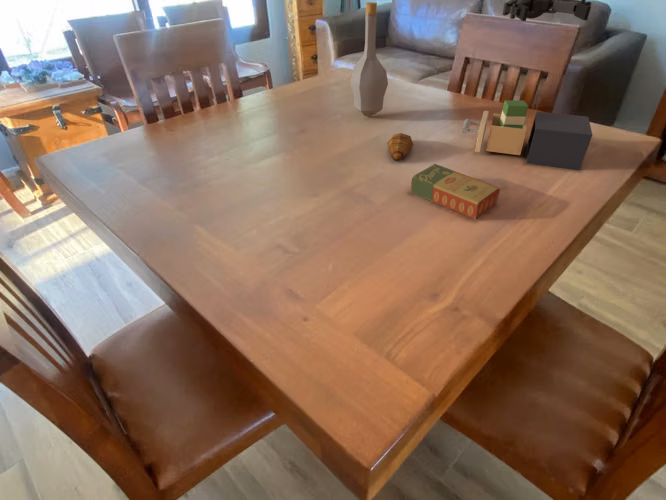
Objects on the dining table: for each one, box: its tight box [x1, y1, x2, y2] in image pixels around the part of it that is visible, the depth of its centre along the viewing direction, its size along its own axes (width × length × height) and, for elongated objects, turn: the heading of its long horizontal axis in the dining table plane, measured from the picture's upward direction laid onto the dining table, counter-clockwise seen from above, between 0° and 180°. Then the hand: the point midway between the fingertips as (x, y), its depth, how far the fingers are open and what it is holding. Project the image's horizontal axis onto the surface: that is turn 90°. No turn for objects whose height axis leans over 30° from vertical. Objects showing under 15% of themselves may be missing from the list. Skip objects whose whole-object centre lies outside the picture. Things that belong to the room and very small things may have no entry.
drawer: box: [460, 110, 529, 156], centre depth 107 cm, size 15×10×7 cm
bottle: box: [349, 1, 389, 118], centre depth 120 cm, size 11×11×30 cm
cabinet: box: [525, 111, 593, 171], centre depth 102 cm, size 12×12×9 cm
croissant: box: [386, 132, 415, 162], centre depth 107 cm, size 14×7×5 cm, turn 167°
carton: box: [410, 163, 501, 220], centre depth 89 cm, size 8×16×4 cm, turn 43°
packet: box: [499, 99, 529, 129], centre depth 104 cm, size 5×4×10 cm
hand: (556, 14), depth 98 cm, fingers open, 13 cm apart
